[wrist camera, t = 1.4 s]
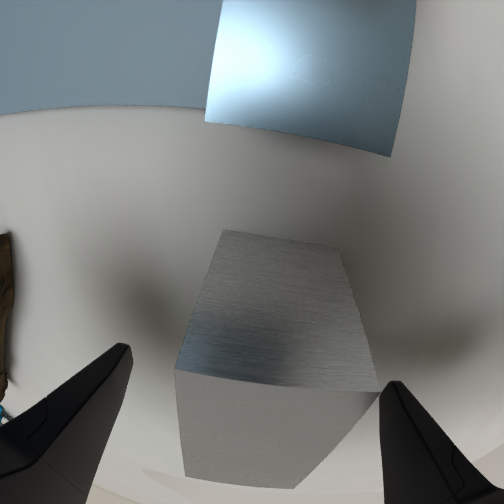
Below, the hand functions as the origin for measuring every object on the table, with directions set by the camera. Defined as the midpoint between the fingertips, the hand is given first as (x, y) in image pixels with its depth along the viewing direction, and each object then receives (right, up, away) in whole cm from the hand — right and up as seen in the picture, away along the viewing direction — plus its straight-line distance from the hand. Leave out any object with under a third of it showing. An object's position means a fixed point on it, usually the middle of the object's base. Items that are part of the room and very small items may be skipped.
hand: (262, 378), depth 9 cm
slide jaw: (+1, +12, -5) cm, 13 cm away
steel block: (0, +2, +3) cm, 3 cm away
